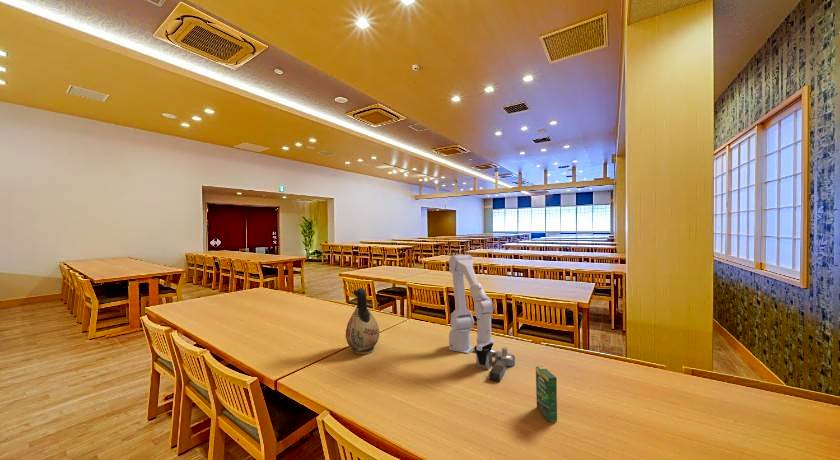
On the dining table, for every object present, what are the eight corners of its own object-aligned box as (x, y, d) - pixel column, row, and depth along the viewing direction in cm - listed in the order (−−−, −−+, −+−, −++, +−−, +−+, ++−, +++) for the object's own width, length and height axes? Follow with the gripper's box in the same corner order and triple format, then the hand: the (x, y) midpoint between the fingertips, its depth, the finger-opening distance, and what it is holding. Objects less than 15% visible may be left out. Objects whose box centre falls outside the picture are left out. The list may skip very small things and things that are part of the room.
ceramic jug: (342, 347, 147) (341, 285, 146) (374, 342, 153) (373, 282, 153) (350, 362, 131) (349, 292, 131) (385, 355, 138) (384, 288, 137)
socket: (476, 367, 125) (476, 353, 125) (480, 361, 130) (480, 349, 130) (488, 369, 123) (488, 356, 123) (492, 364, 128) (492, 351, 127)
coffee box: (535, 406, 98) (535, 365, 98) (543, 405, 98) (543, 365, 98) (548, 422, 90) (548, 378, 90) (557, 422, 90) (557, 377, 90)
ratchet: (484, 378, 116) (484, 361, 116) (497, 357, 134) (497, 343, 134) (505, 383, 112) (505, 366, 112) (516, 361, 130) (516, 346, 130)
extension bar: (472, 351, 141) (472, 347, 140) (473, 350, 142) (473, 346, 142) (500, 357, 135) (500, 353, 134) (501, 355, 136) (501, 351, 136)
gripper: (488, 336, 118) (489, 371, 118) (498, 325, 131) (498, 356, 131) (471, 333, 121) (471, 367, 122) (482, 322, 134) (482, 353, 134)
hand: (484, 361), depth 127 cm, fingers closed on socket, 5 cm apart
